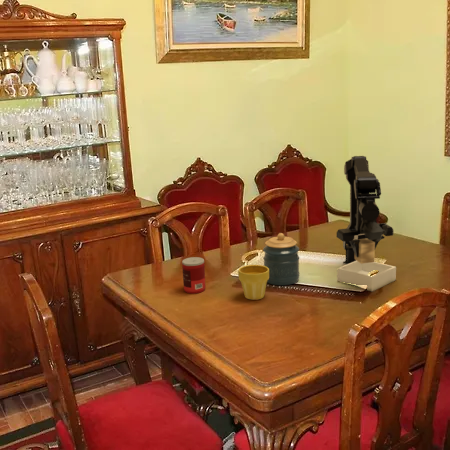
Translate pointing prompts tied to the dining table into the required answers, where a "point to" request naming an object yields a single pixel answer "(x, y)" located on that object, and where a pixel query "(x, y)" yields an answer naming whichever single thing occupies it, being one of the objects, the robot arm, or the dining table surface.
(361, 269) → the bin
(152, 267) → the dining table surface
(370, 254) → the wooden block
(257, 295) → the plant pot
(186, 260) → the canned food
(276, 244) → the canister
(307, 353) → the dining table surface
